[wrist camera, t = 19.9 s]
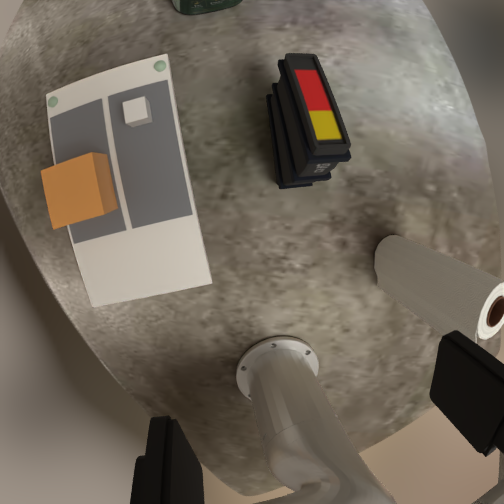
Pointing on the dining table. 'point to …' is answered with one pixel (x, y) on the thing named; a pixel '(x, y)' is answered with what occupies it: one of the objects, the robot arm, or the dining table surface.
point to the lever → (137, 112)
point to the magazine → (305, 123)
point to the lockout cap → (79, 189)
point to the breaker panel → (132, 185)
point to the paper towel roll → (440, 288)
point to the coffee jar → (202, 5)
